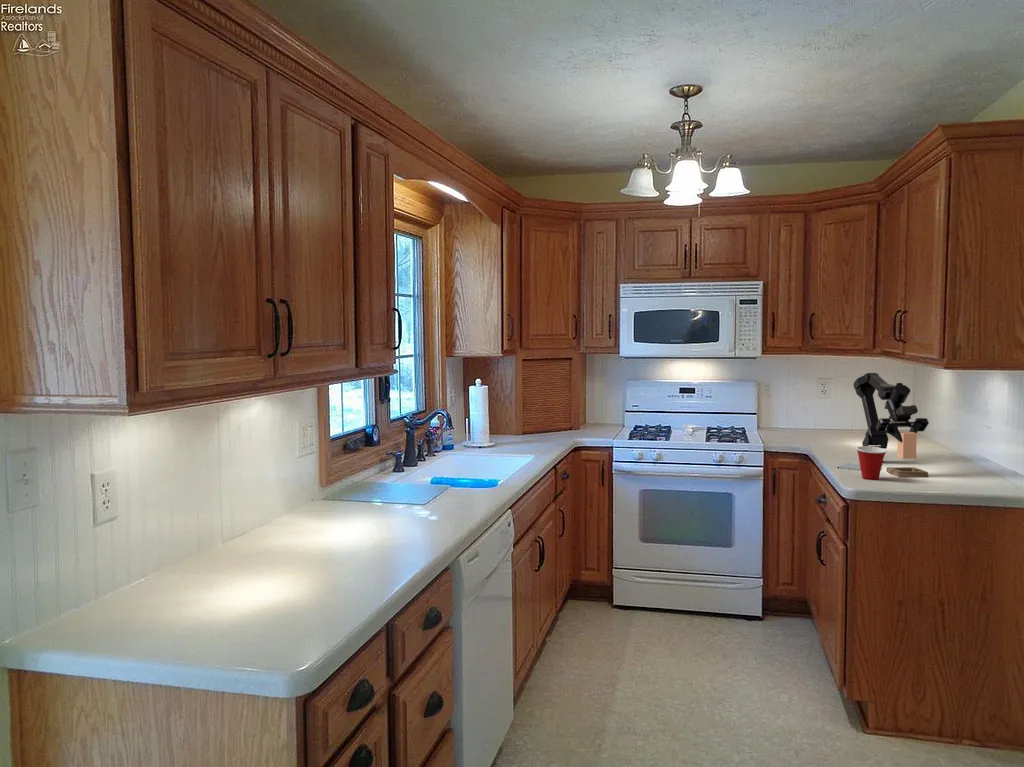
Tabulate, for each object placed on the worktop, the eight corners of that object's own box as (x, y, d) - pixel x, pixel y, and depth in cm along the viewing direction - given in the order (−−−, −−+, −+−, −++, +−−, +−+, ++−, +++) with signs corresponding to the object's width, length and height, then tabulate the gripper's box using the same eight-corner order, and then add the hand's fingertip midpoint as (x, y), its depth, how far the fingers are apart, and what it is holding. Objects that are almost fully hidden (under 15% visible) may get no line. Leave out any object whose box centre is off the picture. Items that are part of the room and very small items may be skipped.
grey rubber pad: (844, 464, 320) (844, 463, 320) (872, 467, 313) (872, 465, 313) (836, 468, 312) (836, 466, 312) (864, 470, 305) (864, 469, 305)
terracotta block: (897, 456, 297) (897, 431, 297) (910, 456, 297) (910, 431, 297) (903, 458, 292) (903, 433, 292) (916, 458, 292) (916, 433, 292)
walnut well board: (886, 472, 301) (886, 467, 301) (914, 472, 300) (914, 467, 300) (899, 477, 290) (899, 472, 290) (928, 477, 289) (928, 472, 289)
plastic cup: (869, 482, 281) (869, 450, 281) (849, 477, 292) (849, 446, 291) (893, 480, 284) (893, 449, 283) (872, 475, 295) (872, 445, 294)
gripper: (879, 398, 298) (891, 429, 288) (927, 398, 297) (940, 428, 286) (870, 415, 306) (881, 446, 296) (917, 415, 305) (930, 446, 295)
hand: (908, 441), depth 293 cm, fingers closed on terracotta block, 5 cm apart
